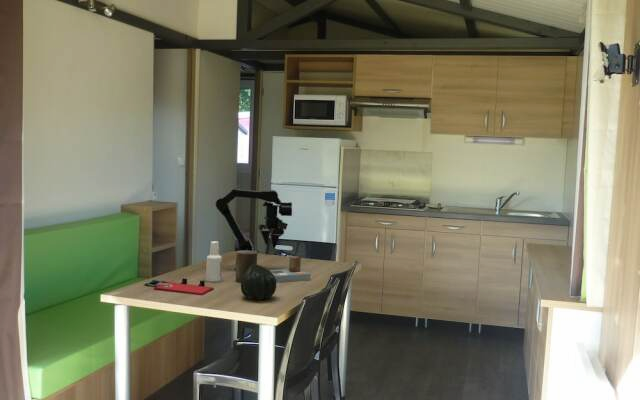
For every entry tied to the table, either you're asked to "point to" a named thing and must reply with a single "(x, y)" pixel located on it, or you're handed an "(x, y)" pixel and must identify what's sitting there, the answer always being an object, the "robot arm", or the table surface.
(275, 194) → the robot arm
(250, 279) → the squash
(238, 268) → the pillar candle
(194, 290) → the red board with handle
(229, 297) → the table surface
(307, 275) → the socket block
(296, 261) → the peg
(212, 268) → the spray bottle
